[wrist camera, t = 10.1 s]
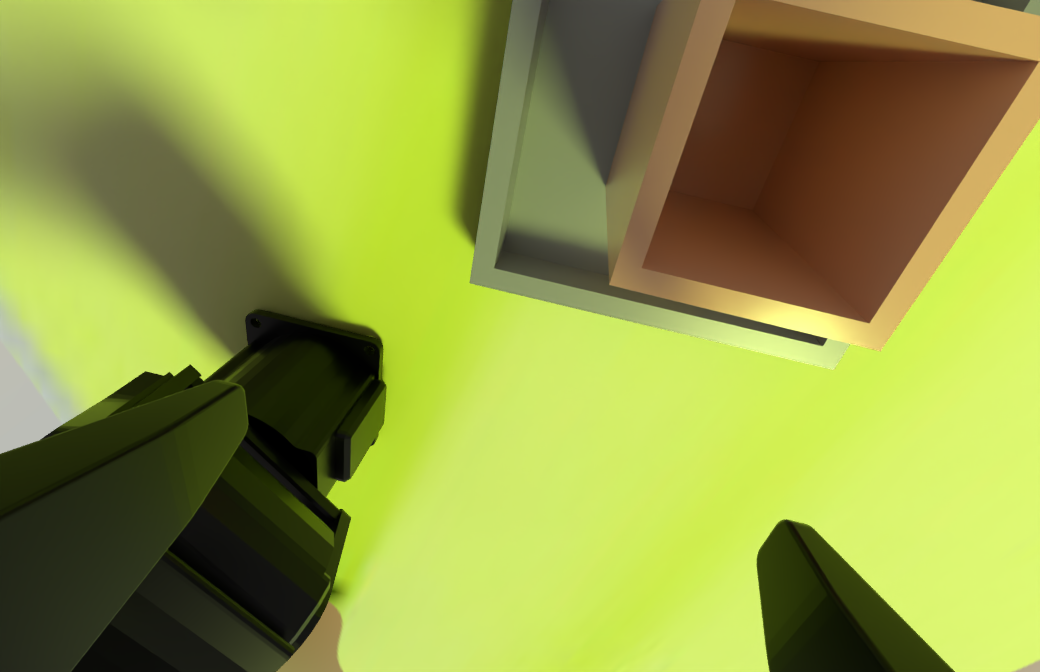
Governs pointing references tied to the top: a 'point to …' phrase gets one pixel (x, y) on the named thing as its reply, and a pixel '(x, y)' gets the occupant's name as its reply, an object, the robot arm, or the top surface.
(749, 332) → the tray
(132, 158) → the top surface
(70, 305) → the top surface
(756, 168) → the terracotta cup
